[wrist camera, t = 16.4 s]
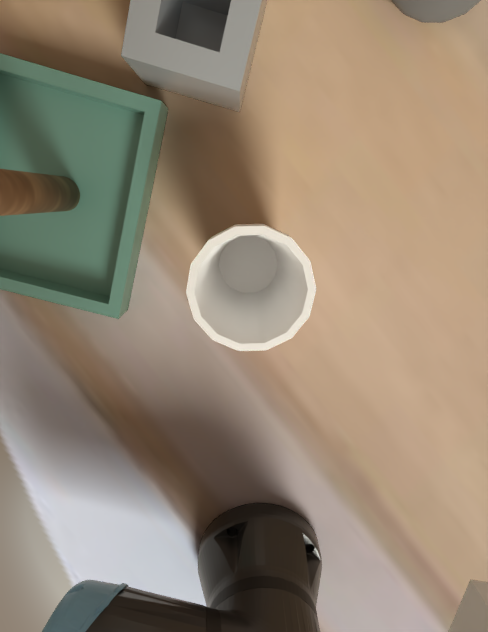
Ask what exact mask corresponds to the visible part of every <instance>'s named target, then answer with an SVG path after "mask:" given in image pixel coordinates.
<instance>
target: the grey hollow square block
mask: <svg viewBox="0 0 488 632" xmlns="http://www.w3.org/2000/svg"><path fill="white" fill-rule="evenodd" d="M266 4H267V0H130V6H129V12H128V18H127V24H126V30H125V36H124V42H123V47H122V53H121V56H122V57H123V58H124V60H125V61H126V62H127V63H128V64H129V66H130V67H131V68H132V69H133V70H134V71H135V73H136V74H137V75H138V76H139V77H140V79H141V80H142V81H143V82H144V83H145V84H147V85H150V86H153V87H157V88H160V89H163V90H167V91H170V92H174V93H177V94H180V95H184V96H187V97H190V98H194V99H197V100H200V101H204V102H207V103H210V104H214V105H217V106H221V107H224V108H227V109H231V110H234V111H237V112H240V110H241V106H242V102H243V98H244V94H245V90H246V86H247V82H248V78H249V73H250V69H251V65H252V61H253V57H254V53H255V49H256V45H257V41H258V37H259V33H260V29H261V25H262V20H263V16H264V12H265V8H266Z"/></svg>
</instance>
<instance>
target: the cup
mask: <svg viewBox="0 0 488 632" xmlns="http://www.w3.org/2000/svg"><path fill="white" fill-rule="evenodd" d="M480 1H481V0H392V2H393V3H394V4H395V5H396V6H397V7H398V8H399V9H400V11H401V12H402V13H403V14H405V15H407V16H409V17H411V18H413V19H416V20H418V21H420V22H437V23H443V22H446V21H448V20H451V19H453V18H456V17H458V16H461V15H463V14H465V13H467V12H468V11H469V10H470V9H471V8H473V7H474V6H475V5H476V4H477V3H478V2H480Z"/></svg>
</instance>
